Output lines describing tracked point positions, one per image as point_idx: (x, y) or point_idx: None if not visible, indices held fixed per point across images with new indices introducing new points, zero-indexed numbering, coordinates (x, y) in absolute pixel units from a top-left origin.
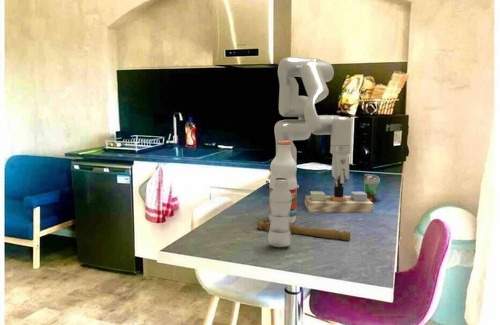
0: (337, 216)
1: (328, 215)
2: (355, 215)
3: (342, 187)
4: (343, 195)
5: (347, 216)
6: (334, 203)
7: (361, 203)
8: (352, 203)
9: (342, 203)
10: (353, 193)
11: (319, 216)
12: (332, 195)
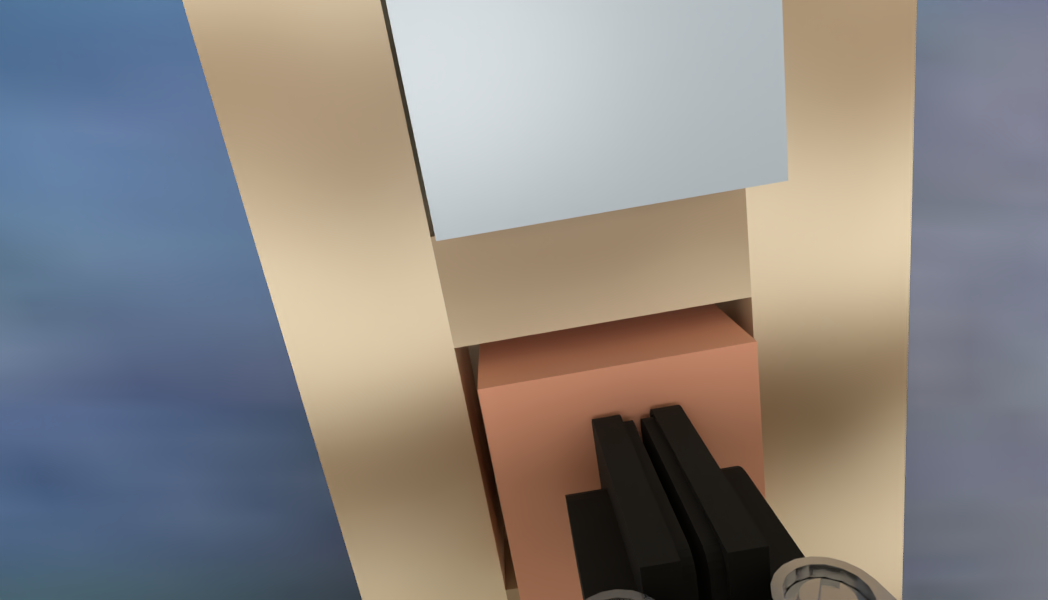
0: (1024, 389)
1: (973, 492)
2: (984, 141)
3: (761, 560)
4: (523, 387)
5: (1032, 261)
6: (902, 505)
7: (912, 9)
8: (910, 204)
9: (902, 383)
10: (679, 191)
11: (1013, 582)
12: (566, 582)
